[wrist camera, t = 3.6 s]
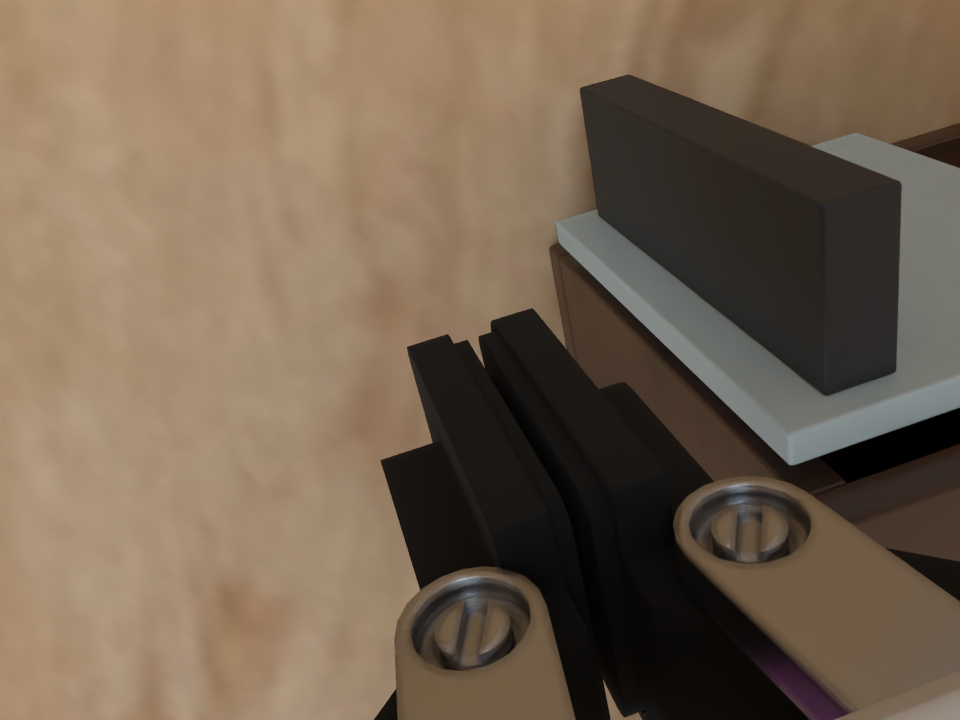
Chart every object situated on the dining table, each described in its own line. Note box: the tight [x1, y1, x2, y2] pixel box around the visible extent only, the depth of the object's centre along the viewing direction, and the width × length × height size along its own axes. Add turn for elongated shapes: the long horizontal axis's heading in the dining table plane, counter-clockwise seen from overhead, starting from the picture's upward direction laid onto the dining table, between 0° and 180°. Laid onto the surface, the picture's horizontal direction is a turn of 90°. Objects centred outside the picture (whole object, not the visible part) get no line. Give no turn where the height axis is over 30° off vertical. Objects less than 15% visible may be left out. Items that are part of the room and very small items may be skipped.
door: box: [556, 75, 960, 465], centre depth 17 cm, size 4×8×10 cm, turn 102°
